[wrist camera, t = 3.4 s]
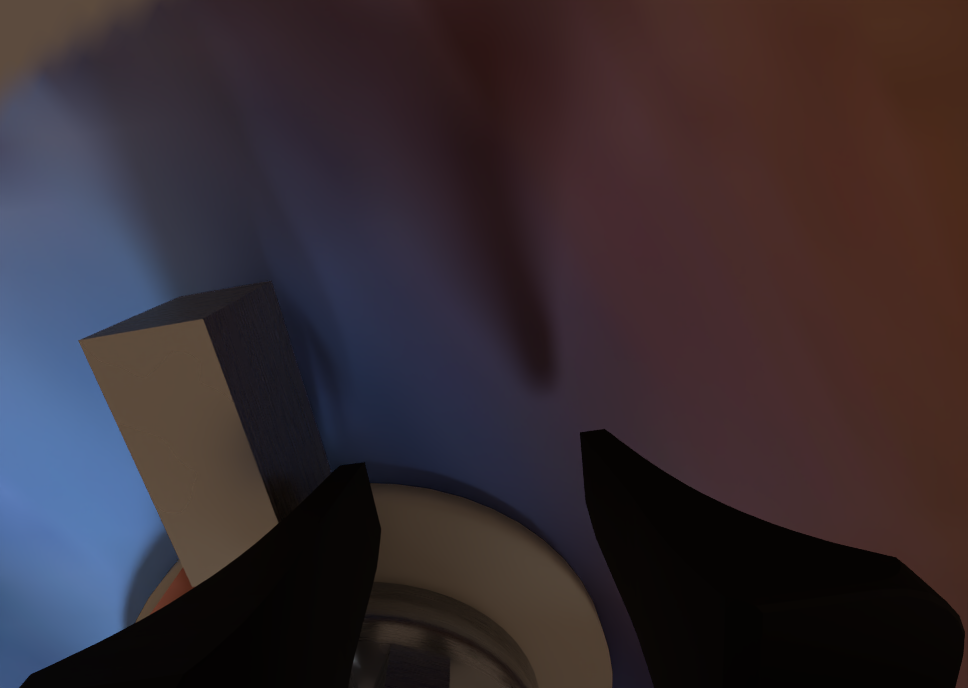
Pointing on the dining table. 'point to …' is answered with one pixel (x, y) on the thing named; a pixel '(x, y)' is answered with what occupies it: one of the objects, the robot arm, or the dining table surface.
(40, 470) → the dining table surface
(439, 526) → the flange plate
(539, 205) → the dining table surface
